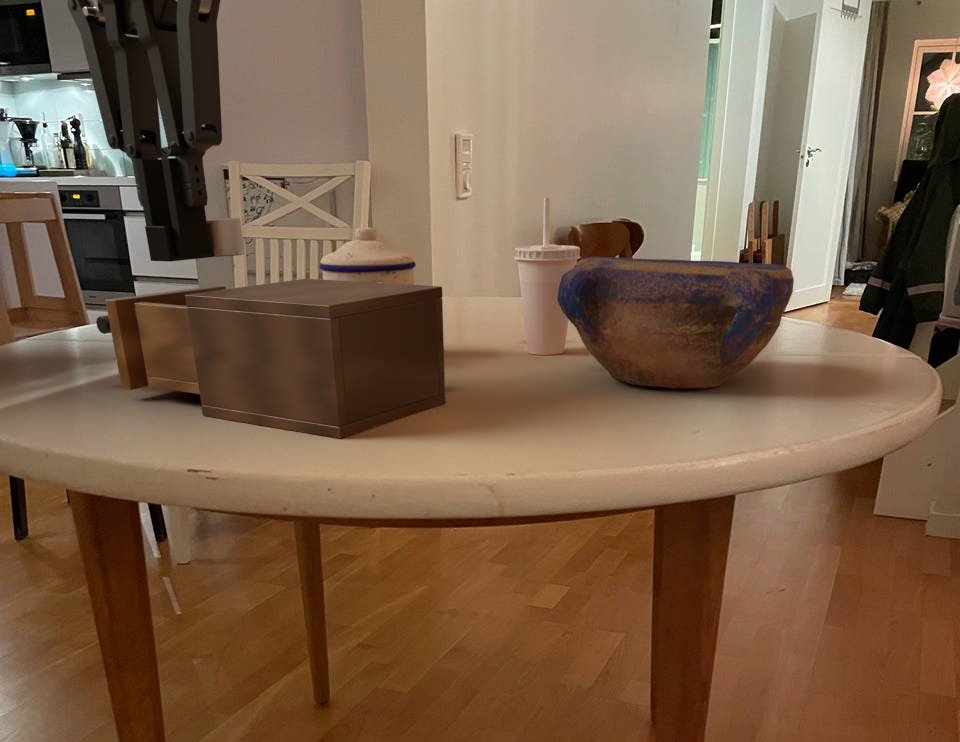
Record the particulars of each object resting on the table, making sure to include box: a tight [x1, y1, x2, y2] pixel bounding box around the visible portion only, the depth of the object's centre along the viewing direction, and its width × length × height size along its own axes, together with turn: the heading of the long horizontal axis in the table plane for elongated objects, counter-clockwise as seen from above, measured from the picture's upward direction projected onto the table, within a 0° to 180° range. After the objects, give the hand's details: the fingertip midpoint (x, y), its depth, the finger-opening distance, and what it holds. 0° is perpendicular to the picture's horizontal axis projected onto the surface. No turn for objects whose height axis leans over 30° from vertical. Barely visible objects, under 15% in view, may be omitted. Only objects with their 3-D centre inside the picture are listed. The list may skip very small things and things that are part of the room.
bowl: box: [557, 256, 795, 390], centre depth 77 cm, size 18×18×10 cm
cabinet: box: [185, 278, 446, 439], centre depth 69 cm, size 14×13×9 cm
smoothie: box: [513, 196, 582, 356], centre depth 89 cm, size 6×6×14 cm
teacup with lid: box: [319, 227, 417, 285], centre depth 87 cm, size 12×9×12 cm
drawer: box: [95, 285, 227, 395], centre depth 75 cm, size 18×11×7 cm, turn 57°
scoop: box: [144, 217, 246, 263], centre depth 71 cm, size 8×4×3 cm, turn 147°
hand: (180, 254), depth 70 cm, fingers closed on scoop, 2 cm apart
